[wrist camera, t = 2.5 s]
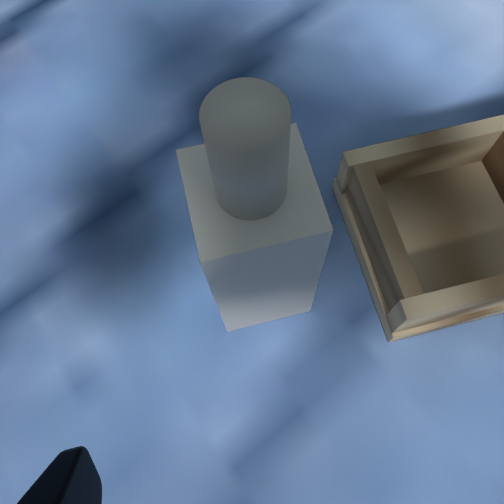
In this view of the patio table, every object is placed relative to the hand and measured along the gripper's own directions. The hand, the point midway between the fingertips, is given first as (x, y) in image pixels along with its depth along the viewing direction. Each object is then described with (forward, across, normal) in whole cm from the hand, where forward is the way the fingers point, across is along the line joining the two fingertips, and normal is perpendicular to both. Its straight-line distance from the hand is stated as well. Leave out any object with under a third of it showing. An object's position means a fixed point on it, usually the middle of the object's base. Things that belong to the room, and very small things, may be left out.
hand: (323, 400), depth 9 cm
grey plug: (+13, 0, +4) cm, 14 cm away
